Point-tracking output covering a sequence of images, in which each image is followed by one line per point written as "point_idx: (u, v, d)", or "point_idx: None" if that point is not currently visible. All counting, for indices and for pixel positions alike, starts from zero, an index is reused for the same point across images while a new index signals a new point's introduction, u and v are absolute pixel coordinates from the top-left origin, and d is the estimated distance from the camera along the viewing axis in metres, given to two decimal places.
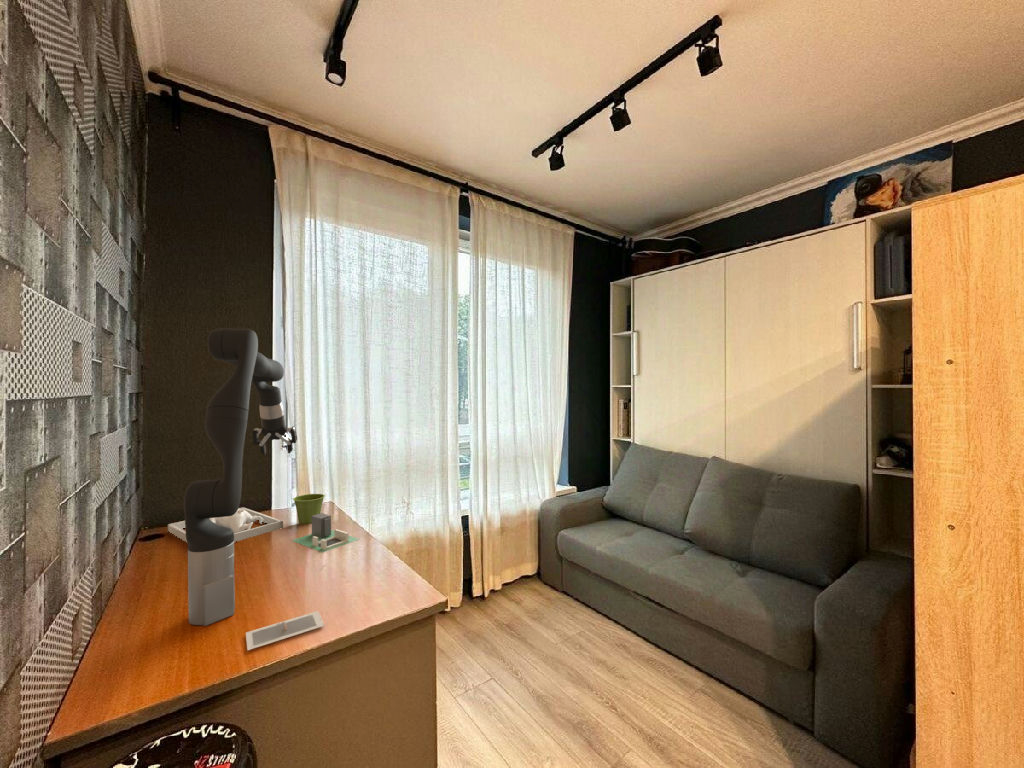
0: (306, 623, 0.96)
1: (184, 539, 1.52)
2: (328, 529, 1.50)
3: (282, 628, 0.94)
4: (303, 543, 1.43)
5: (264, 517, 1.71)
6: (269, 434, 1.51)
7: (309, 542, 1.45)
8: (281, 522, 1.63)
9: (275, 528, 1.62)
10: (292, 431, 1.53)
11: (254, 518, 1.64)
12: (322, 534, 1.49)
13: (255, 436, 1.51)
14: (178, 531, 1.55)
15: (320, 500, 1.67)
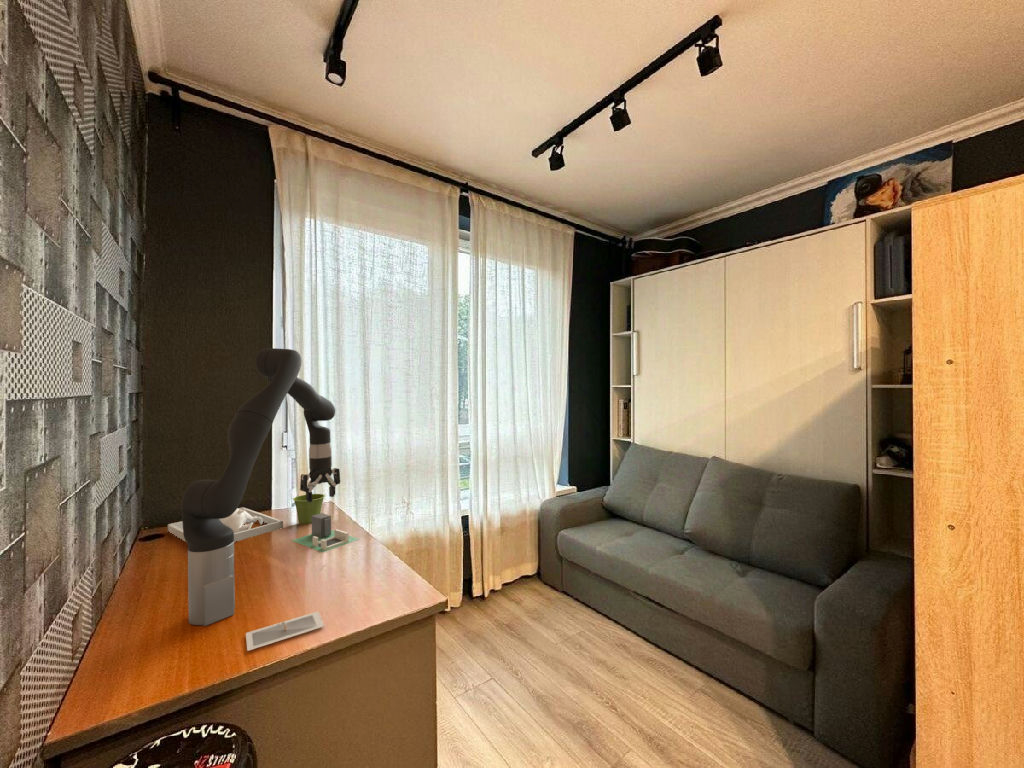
0: (306, 624, 0.95)
1: (184, 539, 1.52)
2: (328, 529, 1.50)
3: (282, 628, 0.94)
4: (303, 543, 1.43)
5: (264, 517, 1.71)
6: (320, 476, 1.50)
7: (309, 542, 1.45)
8: (281, 522, 1.63)
9: (275, 528, 1.62)
10: (338, 471, 1.56)
11: (254, 519, 1.63)
12: (322, 534, 1.49)
13: (306, 481, 1.46)
14: (178, 531, 1.55)
15: (320, 500, 1.67)
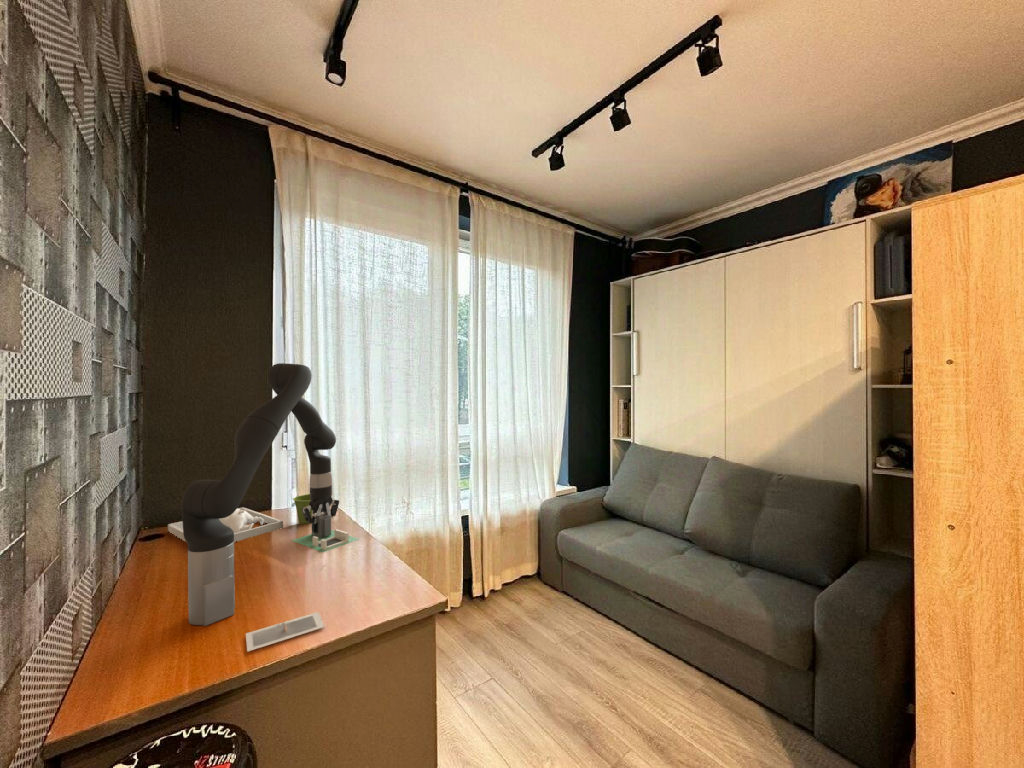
0: (306, 624, 0.95)
1: (184, 539, 1.52)
2: (328, 529, 1.50)
3: (282, 629, 0.94)
4: (303, 543, 1.43)
5: (264, 517, 1.71)
6: (320, 505, 1.50)
7: (309, 542, 1.45)
8: (281, 522, 1.63)
9: (275, 528, 1.62)
10: (338, 503, 1.56)
11: (255, 519, 1.63)
12: (322, 534, 1.49)
13: (309, 514, 1.47)
14: (178, 531, 1.55)
15: None
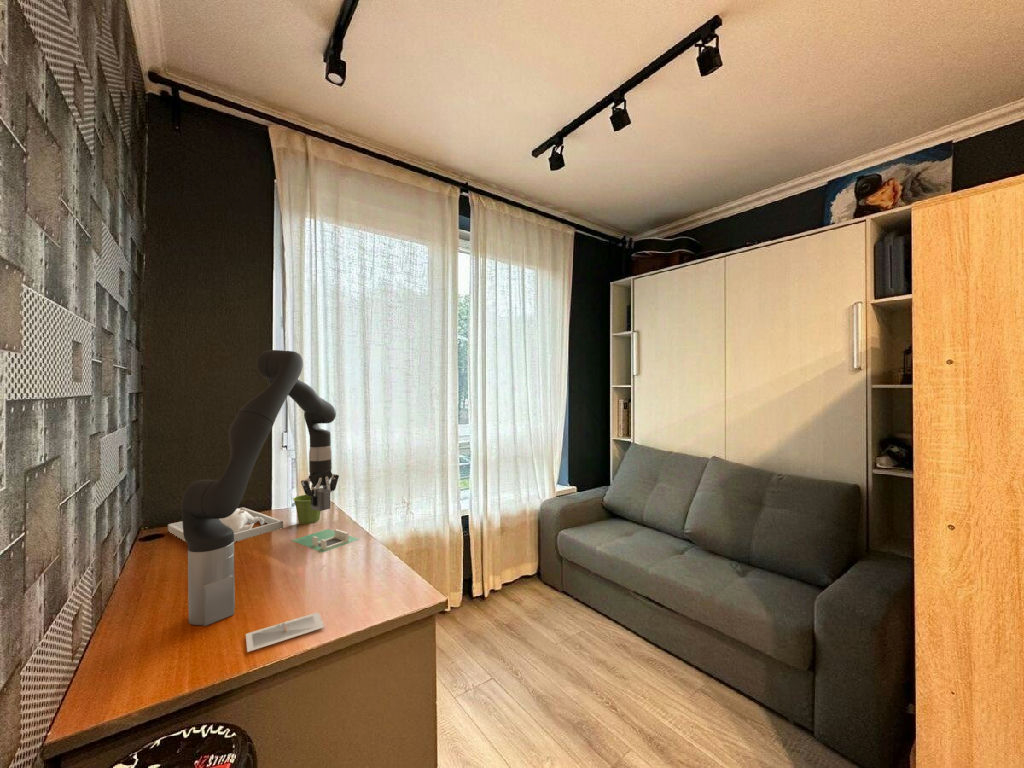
0: (306, 625, 0.95)
1: (184, 539, 1.52)
2: (327, 502, 1.49)
3: (282, 629, 0.94)
4: (303, 543, 1.43)
5: (264, 517, 1.71)
6: (320, 479, 1.50)
7: (309, 542, 1.45)
8: (281, 522, 1.63)
9: (275, 528, 1.62)
10: (337, 477, 1.56)
11: (255, 519, 1.63)
12: (321, 507, 1.49)
13: (308, 486, 1.47)
14: (178, 531, 1.55)
15: None
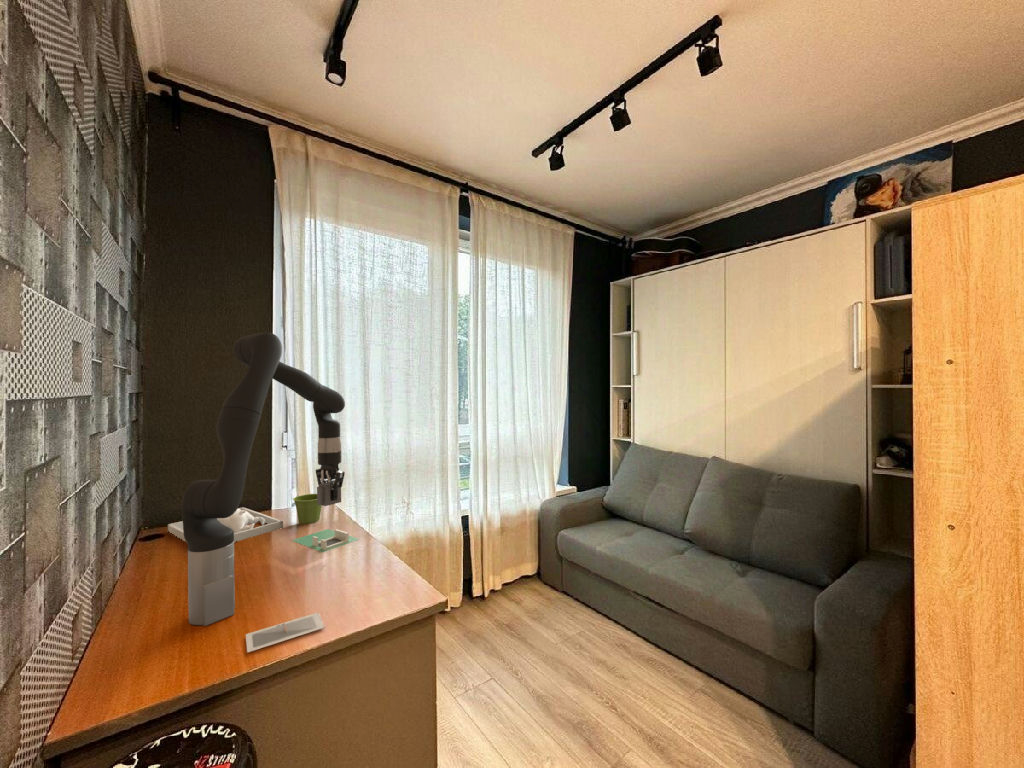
0: (306, 625, 0.95)
1: (184, 539, 1.52)
2: (319, 498, 1.40)
3: (282, 629, 0.93)
4: (303, 543, 1.43)
5: (264, 517, 1.71)
6: (322, 471, 1.42)
7: (309, 542, 1.45)
8: (281, 522, 1.63)
9: (275, 528, 1.62)
10: (337, 475, 1.39)
11: (256, 519, 1.63)
12: None
13: (317, 475, 1.45)
14: (178, 531, 1.55)
15: None
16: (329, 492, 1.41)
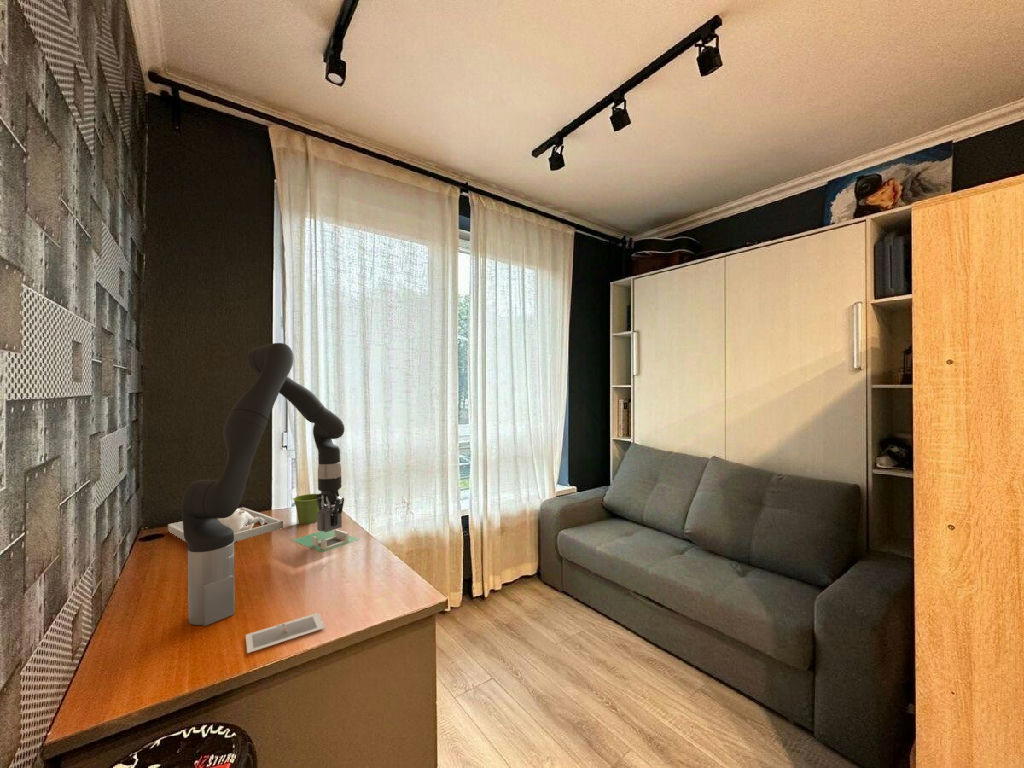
0: (306, 625, 0.95)
1: (184, 539, 1.52)
2: (319, 524, 1.40)
3: (282, 630, 0.93)
4: (303, 543, 1.43)
5: (264, 517, 1.71)
6: (322, 497, 1.42)
7: (309, 542, 1.45)
8: (281, 522, 1.63)
9: (275, 528, 1.62)
10: (336, 502, 1.39)
11: (255, 519, 1.62)
12: None
13: (318, 500, 1.45)
14: (178, 531, 1.55)
15: None
16: (329, 518, 1.41)
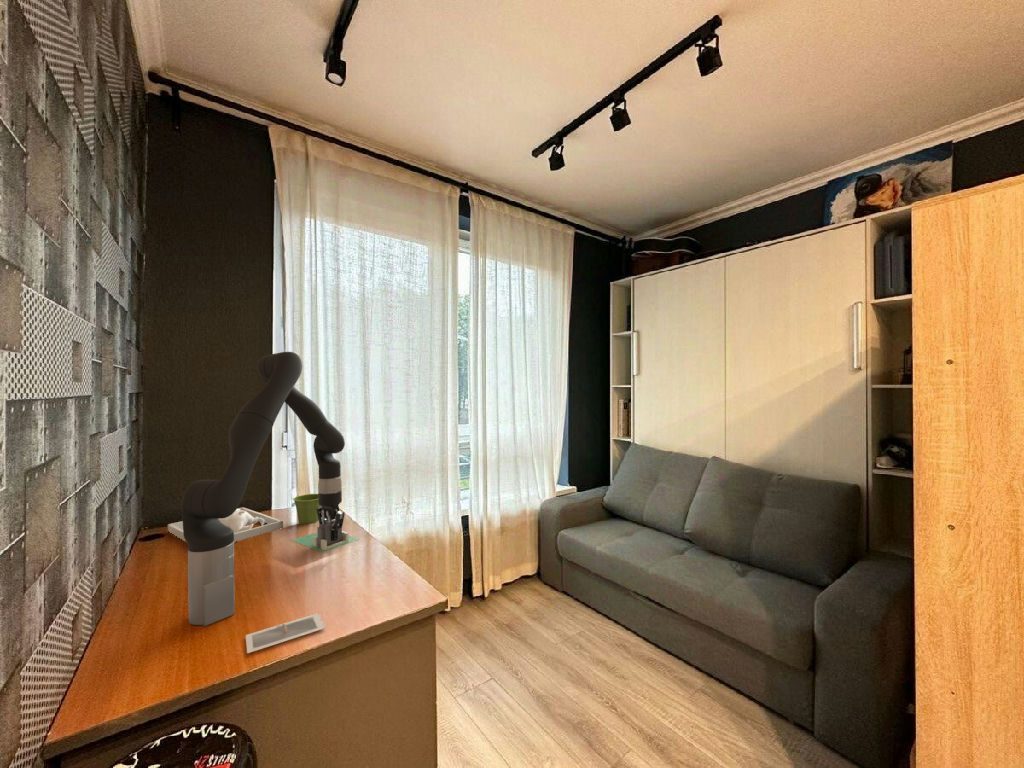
0: (306, 626, 0.95)
1: (184, 539, 1.52)
2: (319, 539, 1.39)
3: (282, 630, 0.93)
4: (303, 543, 1.43)
5: (264, 517, 1.71)
6: (323, 511, 1.42)
7: (309, 542, 1.45)
8: (281, 522, 1.63)
9: (275, 528, 1.62)
10: (337, 516, 1.39)
11: (255, 519, 1.62)
12: None
13: (318, 515, 1.45)
14: (178, 531, 1.55)
15: None
16: (329, 533, 1.41)
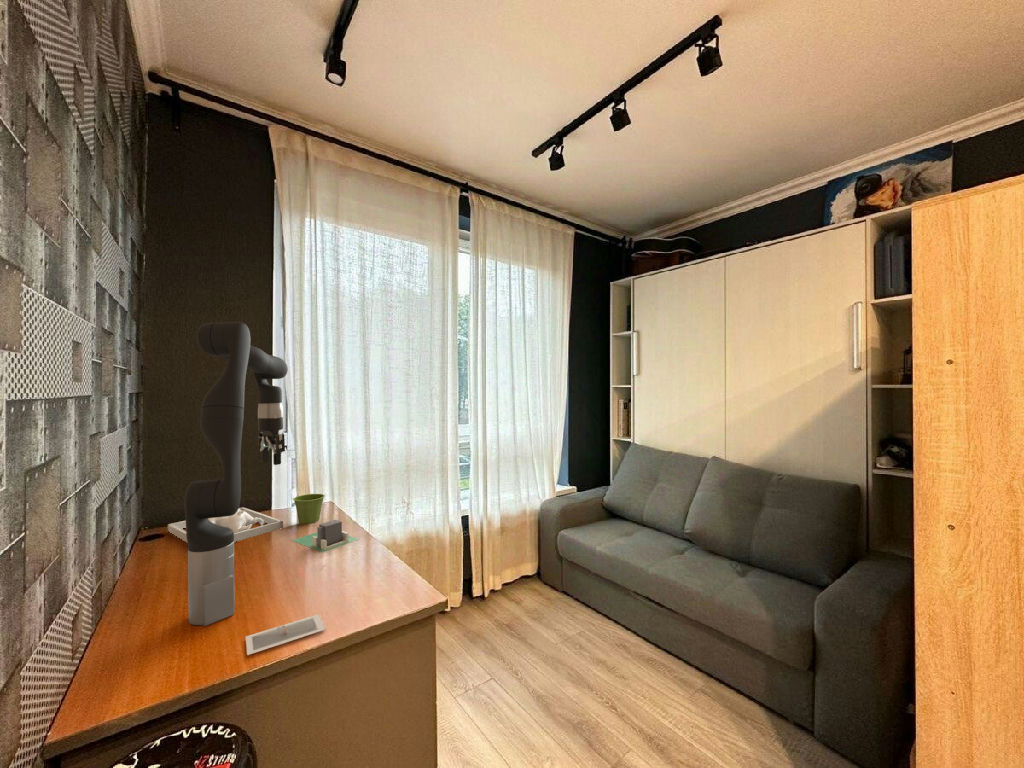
0: (306, 627, 0.94)
1: (184, 539, 1.52)
2: (319, 539, 1.39)
3: (282, 631, 0.93)
4: (303, 543, 1.43)
5: (264, 517, 1.71)
6: (263, 438, 1.41)
7: (309, 542, 1.45)
8: (281, 522, 1.63)
9: (275, 528, 1.62)
10: (276, 437, 1.37)
11: (254, 520, 1.62)
12: None
13: (258, 439, 1.44)
14: (178, 531, 1.55)
15: (320, 500, 1.67)
16: (329, 533, 1.41)
